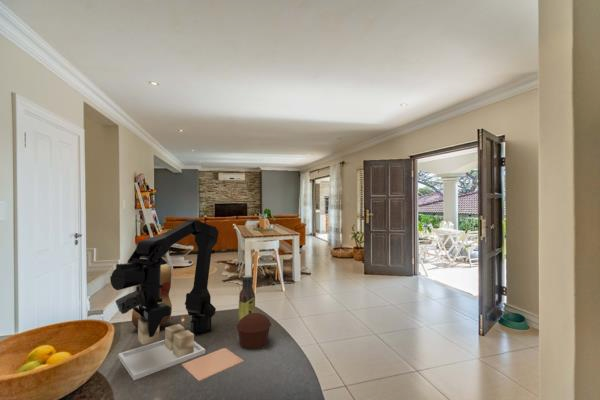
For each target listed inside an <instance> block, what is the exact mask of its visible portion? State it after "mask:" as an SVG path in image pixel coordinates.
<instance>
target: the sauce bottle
mask: <svg viewBox="0 0 600 400" xmlns="http://www.w3.org/2000/svg"><path fill="white" fill-rule="evenodd" d="M241 277H242V278H241V280H242V289H241V290H240V292H239V296H238V297H239V298H238V299H239V300H238V322H239V321H240V320H241V319H242V318H243V317H244V316H246V315H248V314H251V313H256V294H255V291H254V287H253V279H254V277H253V275H249V274H248V275H243V276H241Z"/></svg>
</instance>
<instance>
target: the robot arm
mask: <svg viewBox="0 0 600 400" xmlns="http://www.w3.org/2000/svg"><path fill="white" fill-rule="evenodd" d="M190 235H192V236H193V237H194V243H195V245H196V248H197V255H196V256H197V257H196V262H195V263H196V264H195V271H194V277H193V278H194V280H193V287H192V289H191V290H190V292H187V293H186V295H185V302H184V306H185V309H186V311H187V313H188V316H191V320H190V329H189V331H190V332H191V333H193V334H194V336H201V335H205V334H207V333H210V332H213V331H214V329H213V328H212V318H213V317H214V316H215V315H216V310H217V308H216V307H215V306H214V305H213V304H212V303H211V302H212V301H211V294H210V291H209V289H208V285H209V274H210V267H211V266H210V265H211V260H212V259H211V258H212V252H213V251H212V250H213V249H214V247H215V246H216V244H217V243H218V239H219V230H218V228H217V227H216V226H215V225H209V224H207V223H205V222H202V221H200V220H198V219H186V220H185V221H184V222H183V223H181V224H179V225H177V226H175V227H174V228H171V229H170V230H168V231H165V232H164V233H163V234H160V235H156V236H150V237H147V238H143V239H141V240H140V241H139V242H137V245H136V248H135V250H134V251H133V252H132V254H131V255H130V257H129V258H128V260H127V262H125V263H118V264H116V267H115V269H114V270H113V271H112V273H111V275H110V279H109V280H110V285H111V287H112V289H114V290H116V291H120V290H124V289H128V288H129V289H130V288H132V287H135V290H134V291H133V292H129V293H128V294H125V295H124V296H121V297H119V298H117V299H116V300H115V304H116V307H117V309H118V311H119V312H120V313H121V314H122V315H124V314H126V313H128V312H129V311H131V310H132V311H133V310H135V311H136V312H137V313H139V315H140V318H141V319H142V318H144V319H145V320H147V326H148V333H149V337H153V336H154V334H155V332H156V330H157V328H158V326H159V324H160V322H161V320H162V319H163V317H165V316H169V315H171V316H172V312H171V307H169V306H168V305H167V304H165V303H160V304H158V303H159V302H162V298H161V297H160V288H163V285H162V284H160V280H161V265H164V264H167V265H168V261H166V260H165V259H164V258H163V257H164V256H165V255H166V254H167V253H168V252H169V251H170V249H171V247H173V245H175V244H178V242H180V241H181V240H183V239H184V238H187V237H188V236H190ZM135 307H136V308H135Z"/></svg>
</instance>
